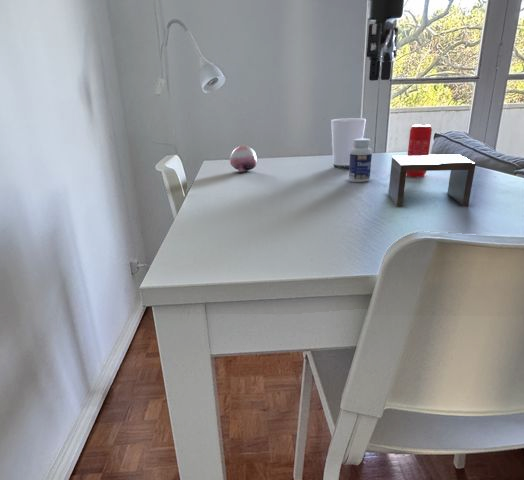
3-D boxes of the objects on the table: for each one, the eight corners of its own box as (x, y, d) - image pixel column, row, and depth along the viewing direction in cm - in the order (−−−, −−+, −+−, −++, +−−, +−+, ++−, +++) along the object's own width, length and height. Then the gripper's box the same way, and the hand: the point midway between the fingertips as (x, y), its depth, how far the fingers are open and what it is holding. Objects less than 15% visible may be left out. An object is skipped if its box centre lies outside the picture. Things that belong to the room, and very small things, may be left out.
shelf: (452, 193, 104) (459, 153, 100) (468, 205, 94) (476, 162, 90) (388, 194, 105) (392, 155, 101) (396, 206, 95) (401, 163, 91)
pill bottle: (356, 183, 118) (358, 141, 113) (344, 180, 122) (346, 139, 117) (374, 181, 119) (377, 139, 115) (361, 177, 124) (364, 137, 119)
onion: (260, 169, 141) (259, 143, 137) (253, 174, 134) (252, 147, 131) (234, 169, 142) (233, 144, 139) (227, 174, 136) (225, 147, 132)
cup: (369, 166, 140) (372, 118, 133) (350, 170, 134) (353, 121, 127) (341, 163, 146) (343, 117, 139) (322, 167, 140) (323, 120, 133)
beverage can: (402, 176, 123) (407, 126, 117) (409, 173, 127) (414, 124, 121) (421, 178, 120) (428, 126, 114) (428, 175, 124) (435, 124, 118)
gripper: (395, -14, 94) (386, 80, 102) (413, -6, 104) (404, 79, 112) (358, -10, 97) (353, 81, 105) (380, -2, 107) (374, 80, 116)
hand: (380, 80), depth 109 cm, fingers open, 8 cm apart
